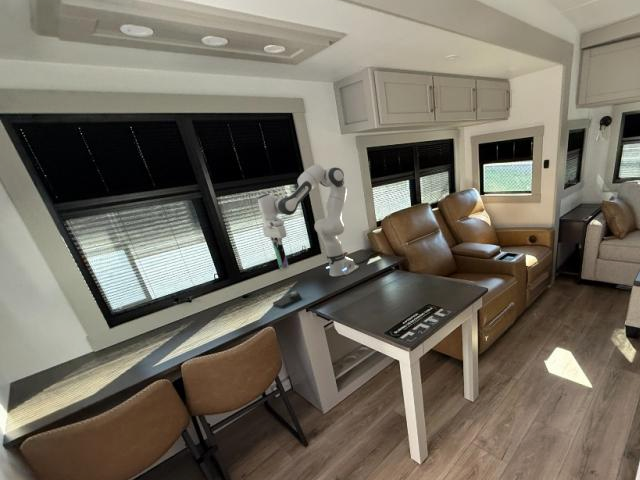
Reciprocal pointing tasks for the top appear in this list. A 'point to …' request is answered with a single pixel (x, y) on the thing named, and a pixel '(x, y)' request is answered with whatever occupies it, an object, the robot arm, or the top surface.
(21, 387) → the top surface
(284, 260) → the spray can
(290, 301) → the scale
